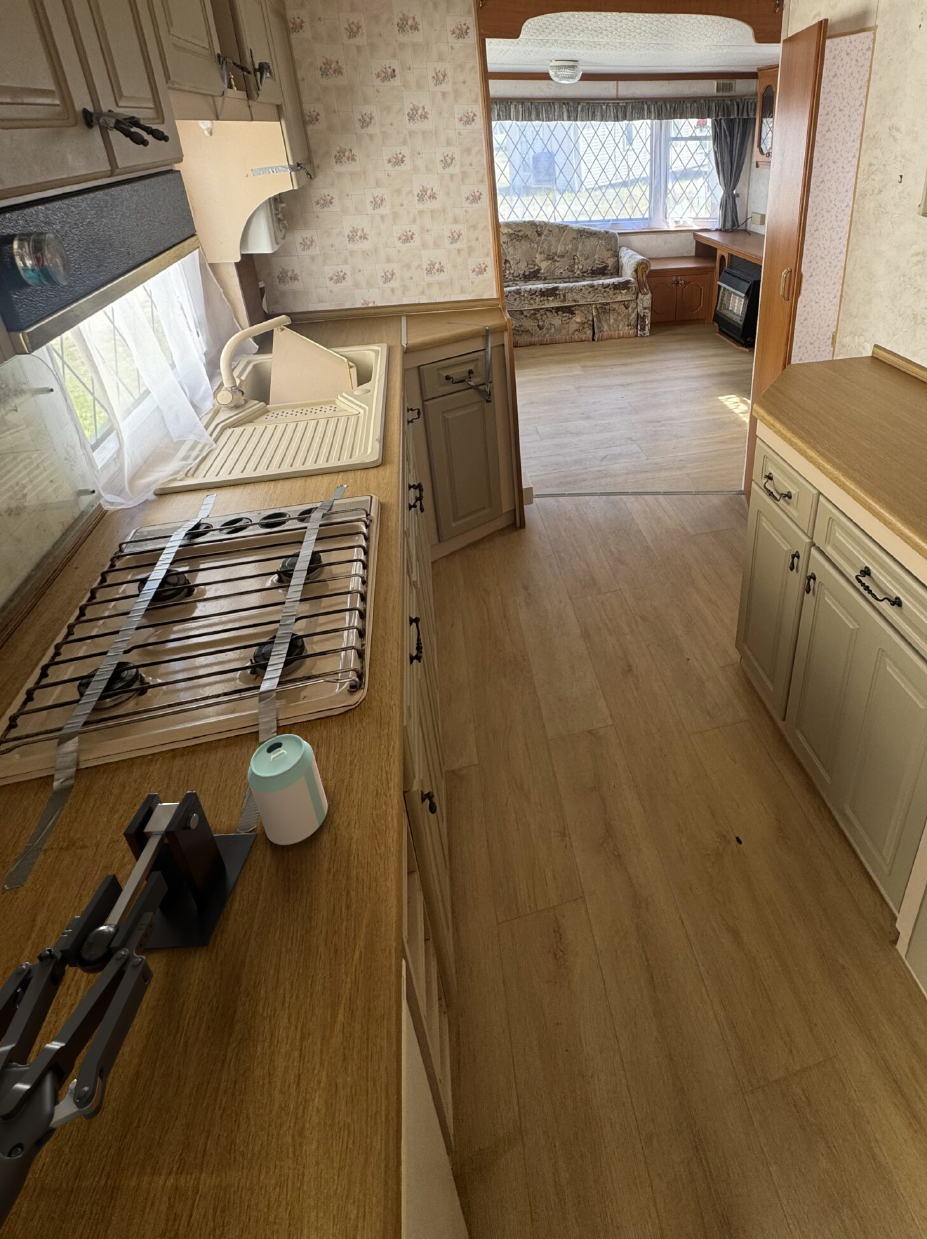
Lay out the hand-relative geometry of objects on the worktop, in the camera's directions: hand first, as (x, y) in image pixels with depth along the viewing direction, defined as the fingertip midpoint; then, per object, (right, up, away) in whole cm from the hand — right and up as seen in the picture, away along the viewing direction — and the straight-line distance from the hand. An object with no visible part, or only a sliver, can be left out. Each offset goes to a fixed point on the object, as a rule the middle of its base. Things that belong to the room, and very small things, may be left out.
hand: (137, 881), depth 65 cm
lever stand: (0, -8, +9) cm, 12 cm away
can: (+8, -5, +17) cm, 19 cm away
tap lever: (0, -1, +1) cm, 1 cm away
